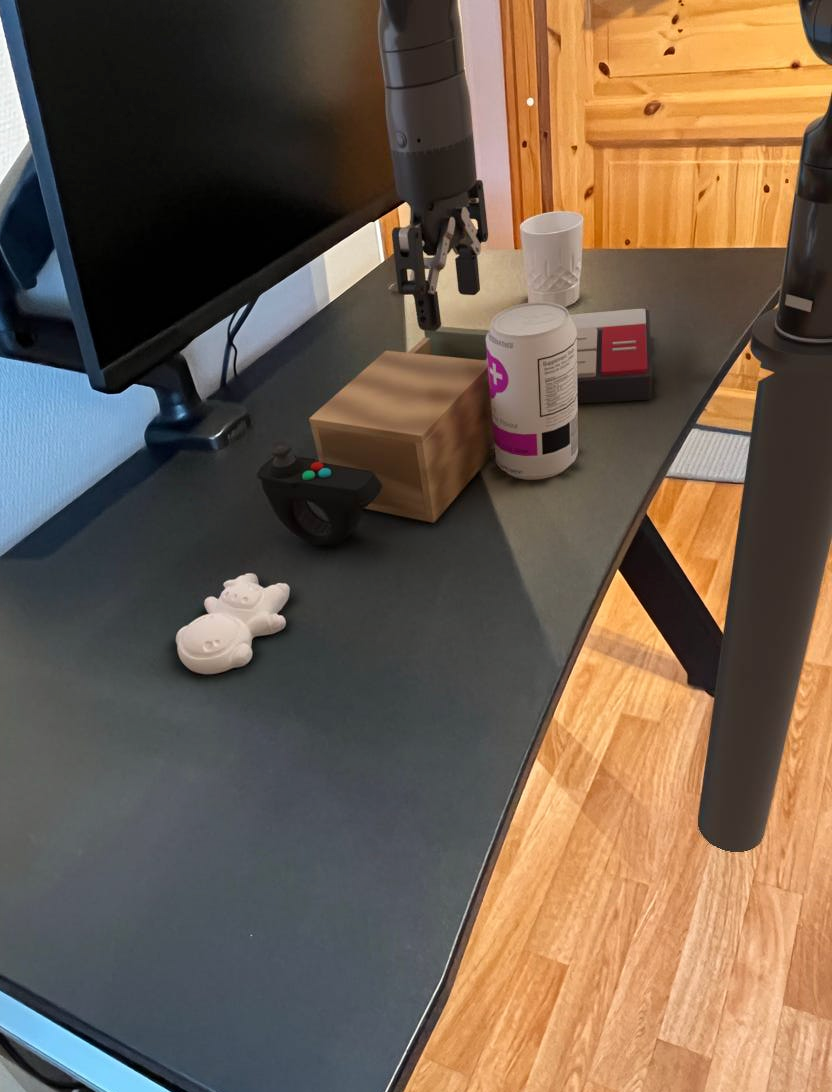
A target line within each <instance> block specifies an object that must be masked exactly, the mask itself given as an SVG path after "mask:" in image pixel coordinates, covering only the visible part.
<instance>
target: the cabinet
mask: <svg viewBox="0 0 832 1092" xmlns="http://www.w3.org/2000/svg"><path fill="white" fill-rule="evenodd" d="M308 420H309V424H310V428H311V432H312V436H313V441H314V445H315V450H316V453H317V457H318V462H322V463H328V464H333V465H339V466H345V467H350V468H356V469H362V470H367V471H372V472H373V473H374V474H375V475H376V477H377V478H378V479H379V482H381V484H382V488H381V490H380V492H379V494H378V495H377V496H376V498H375V499H374V500H373V501H372V502H371V503H370V504H369V505H368V506H367V507H365V508H364V509H366V510H370V511H375V512H380V513H385V514H390V515H394V516H399V517H404V518H409V519H413V520H417V521H421V522H426V523H427V522H428V523H433V524H435V523H436V522H437V520H438V519H439V518H440V517H441V516H442V515H443V514H444V512H445V511H446V510H447V509H448V508H449V506H450V505H451V504H452V503H453V501H455V499H456V498H457V497H458V496H459V495H460V494H461V492H462V491H463V490H464V489H465V488H466V486H467V485H468V484H469V483H470V482H471V481H472V479H474V477H475V476H476V475H477V474H478V473H479V471H480V470H481V469H482V467H483V466H484V465H485V464H486V463H487V462H488V461H489V460H490V458H491V457H492V456H493V455H494V454H495V445H494V433H493V421H492V409H491V397H490V385H489V373H488V361H485V360H475V359H465V358H455V357H445V356H435V355H425V354H415V353H408V352H404V351H395V350H385V351H383V352H382V353H381V354H380V355H379V356H378V357H377V358H376V359H374V360H373V361H372V362H371V363H370V364H369V365H368V366H367V367H365V368H364V369H363V370H362V371H361V372H360V373H359V374H358V375H357V376H355V377H354V378H353V379H351V381H349V382H348V383H347V384H346V385H345V386H344V387H343V388H342V389H341V390H339V391H338V392H337V393H336V394H335V395H334V396H333V397H332V398H331V399H329V400H328V401H327V402H326V403H325V404H323V406H321V407H320V408H319V409H318V410H317V411H316V412H314V414H312V415H311V416H310V417H309V418H308Z"/></svg>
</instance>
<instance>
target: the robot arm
mask: <svg viewBox="0 0 832 1092" xmlns="http://www.w3.org/2000/svg"><path fill="white" fill-rule="evenodd" d="M797 2H798V7H799V14H800V18H801V23H802V28H803V32H804V35H805V39H806V42H807V44H808V46H809V47H810V49H811V50H812V52H813V53H814V55H815V56H816V57H817V58H818V59H819V60H820V61H822V62H824V63H825V64H826V65H829V66H831V67H832V0H797ZM376 22H377V23H376V24H377V25H376V26H377V27H376V28H377V29H376V31H377V41H378V42H377V43H378V49H379V55H380V63H381V70H382V77H383V84H384V86H383V88H384V103H385V107H384V108H385V120H386V127H387V135H388V141H389V149H390V156H391V162H392V170H393V178H394V184H395V190H396V195H397V197H398V198H399V199H400V200H401V201H403V202H405V203H406V204H407V205H408V206H409V208H410V210H409V211H410V212H409V213H410V214H409V224H408V225H406V226H403V227H401V226H400V227H399V226H395V227H393V229H392V231H391V241H392V249H393V256H394V258H393V259H394V265H395V275H396V282H397V283H396V284H397V291H398V294H399V295H407V296H408V295H409V296H410V295H412V297H413V299H414V306H415V312H416V320H417V325H418V327H419V329H420V330H421V331H424V330H428V331H436V330H437V329H438V328H439V327H440V326H442V320H441V311H440V302H439V296H438V295H439V294H438V290H437V287H438V282H439V278H440V277H439V276H440V272H441V271H442V270H443V269H445V267H446V263H447V258H448V255H449V254H450V252H451V251H453V252H454V254H455V255H457V256H456V257H455V258H454V261H455V263H454V264H455V270H456V271H455V272H456V281H457V291H458V293H459V294H461V295H463V296H476V295H477V294H478V293H479V292H480V290H481V284H480V272H479V261H478V260H479V259H478V256H479V255H480V254H481V251H482V245H481V244H482V243H486V242H487V241H488V239H489V229H488V228H489V227H488V220H487V219H488V218H487V210H486V198H485V190H484V183H483V180H482V179H478V174H477V173H478V172H477V164H476V163H477V162H476V152H475V151H476V150H475V140H474V128H473V115H472V103H471V96H470V90H469V86H468V81H467V75H466V69H465V66H466V65H465V54H464V45H463V33H462V24H461V17H460V10H459V0H379V10H378V14H377V20H376ZM799 153H800V154H799V160H798V166H797V175H796V180H795V189H794V194H793V201H792V207H791V214H790V221H789V229H788V234H787V235H788V236H787V242H786V248H785V249H786V250H785V256H784V261H783V269H782V276H781V282H780V288H779V289H780V290H779V296H778V297H779V298H778V303H777V307H776V308H777V317H776V319H775V324H774V330H775V332H776V333H777V334H778V335H779V336H780V337H782V338H783V339H786V340H788V341H791V342H794V343H799V344H804V345H816V346H824V345H832V92H831V93H830V98H829V102H828V106H827V109H826V111H825V113H824V114H823V115H820V116H818V117H816V118H815V119H813V120H812V121H811V122H810V123H808V125H807V126H806V127H805V129H804V132H803V134H802V140H801V146H800V152H799ZM472 220H475V221H476V224H477V225H476V226H477V228H476V226H475V225H474V223H473V221H472ZM424 254H425V255H426V256H428V257H425V256H424ZM429 256H430V257H429ZM408 270H410V275H408ZM426 270H428V274H427V278H426Z"/></svg>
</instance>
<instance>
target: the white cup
mask: <svg viewBox="0 0 832 1092" xmlns="http://www.w3.org/2000/svg"><path fill="white" fill-rule="evenodd" d="M519 235H520V243H521V254H522V257H521V258H522V264H523V275H524V283H525V285H526V293H527V303H534V302H547V303H554V304H558V305H561V306H563V307H564V308H567V307H569V306H571V305H573V304H575V303H576V302H577V301H578V300H579V299H580V285H581V284H580V282H581V279H580V278H581V275H582V263H583V240H584V239H583V237H584V216H583V215H582V214H580V213H578V212H574V211H569V210H559V211H549V212H543V213H539V214H537V215H533V216H531V217H529V218H526V219H525V220H523V221H522V222H521V223H520V225H519Z"/></svg>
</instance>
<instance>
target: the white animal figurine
mask: <svg viewBox="0 0 832 1092" xmlns="http://www.w3.org/2000/svg"><path fill="white" fill-rule="evenodd" d="M223 587H224V590H222V591H221V593H220V595H219V596H218V598H216V597H215V596H207V597H206V598H205V600H204V602H203V606H204V608H205V610H206V612H207V614H204V615H201V616H199V617H197V618H195V619H194V620H193V621H191V622H190V623H188V625H185V626H183V627H181V628H180V629H179V630H178V632H177V633H176V636H175V643H176V646H177V647H176V648H177V655H178V657H179V659H180V661H181V663H182V664H183V665H184V666H185V668H187V669H189V670H190V671H192V672H193V673H197V674H202V675H215V674H219V673H220V674H221V673H224V672H227V671H229V670H231V669H234V668H241V667H245V666H246V665H248V663H249V662H250V661H251V660H252V658H253V648H252V642H253V639H254V638H256V637H262V636H269V635H273V634H276V633H278V632H280V631H282V630H284V629H285V627H286V624H287V621H286V618H285V617H284V615H280V614H278V613H280V611H282V609H283V607H284V606H285V605H286V603H287V602H288V600H289V598H290V591H291V588H290V586H289V585H288V584H287V583H284V582H283V583H282V582H278V583H276V584H271V585H269V586H267V587H263V586H261V585H260V584H259V578H258V576H257V575H256V574H255V573H251V572H250V573H249V572H248V573H244V575H243V574H242V575H239V576H237V577H236V578H235V579H228V580H226V581H225V582H223Z"/></svg>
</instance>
